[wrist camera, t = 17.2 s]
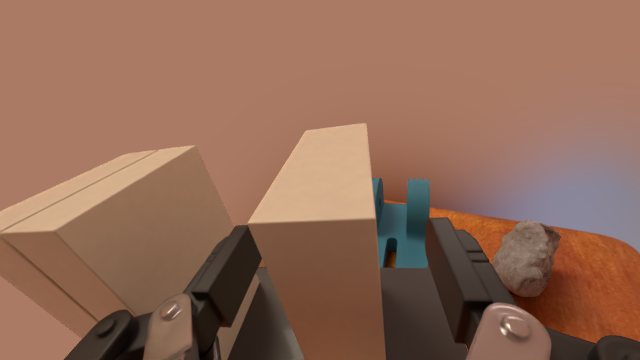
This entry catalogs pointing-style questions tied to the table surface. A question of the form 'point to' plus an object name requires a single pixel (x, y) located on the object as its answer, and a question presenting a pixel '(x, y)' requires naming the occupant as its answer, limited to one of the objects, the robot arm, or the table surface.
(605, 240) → the table surface
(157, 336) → the robot arm
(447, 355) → the shelf
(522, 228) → the stone
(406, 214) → the bracket
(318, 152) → the beige rectangular block
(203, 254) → the white books
